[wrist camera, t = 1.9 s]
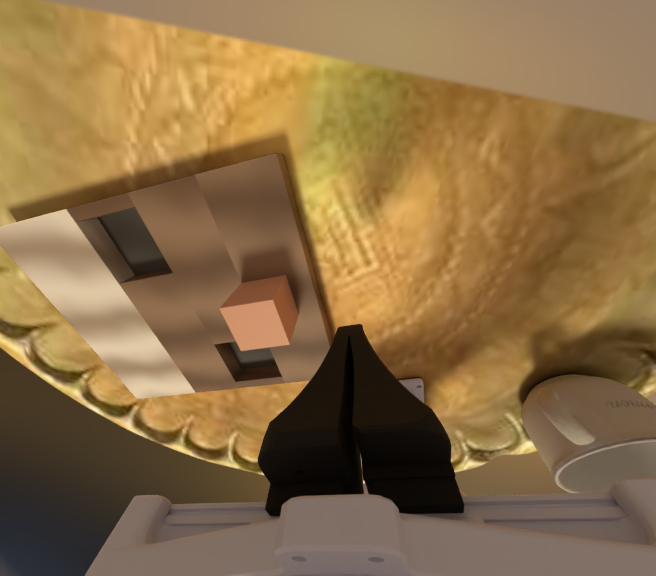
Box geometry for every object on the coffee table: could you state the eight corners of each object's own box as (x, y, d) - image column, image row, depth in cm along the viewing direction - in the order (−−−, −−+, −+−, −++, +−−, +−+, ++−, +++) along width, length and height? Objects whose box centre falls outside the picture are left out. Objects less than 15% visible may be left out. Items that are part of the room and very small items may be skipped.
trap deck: (338, 363, 26) (338, 377, 24) (149, 385, 30) (137, 398, 28) (283, 154, 17) (276, 152, 15) (17, 224, 20) (-14, 230, 19)
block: (298, 314, 21) (289, 344, 17) (257, 320, 21) (241, 351, 18) (285, 274, 19) (272, 299, 16) (241, 282, 20) (219, 308, 16)
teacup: (625, 398, 26) (730, 483, 19) (527, 433, 30) (584, 514, 23) (581, 324, 22) (694, 398, 15) (474, 375, 26) (523, 454, 19)
